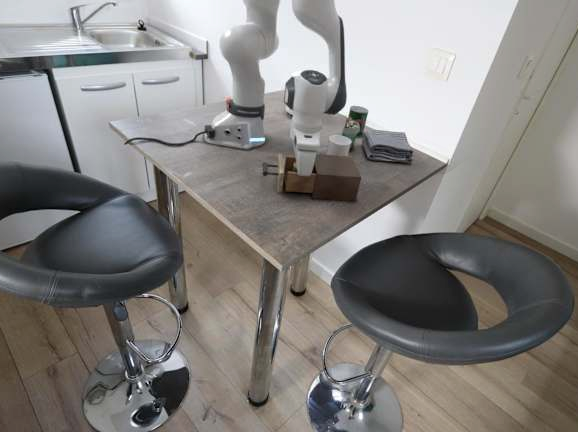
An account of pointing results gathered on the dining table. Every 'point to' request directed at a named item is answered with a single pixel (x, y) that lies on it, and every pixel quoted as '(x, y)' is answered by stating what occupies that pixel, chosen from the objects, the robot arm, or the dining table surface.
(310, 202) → the dining table surface
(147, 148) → the dining table surface
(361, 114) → the canned tomato
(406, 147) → the towel
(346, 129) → the food container
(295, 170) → the tea tin
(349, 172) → the cabinet
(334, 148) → the white cup
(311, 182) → the drawer
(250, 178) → the dining table surface
